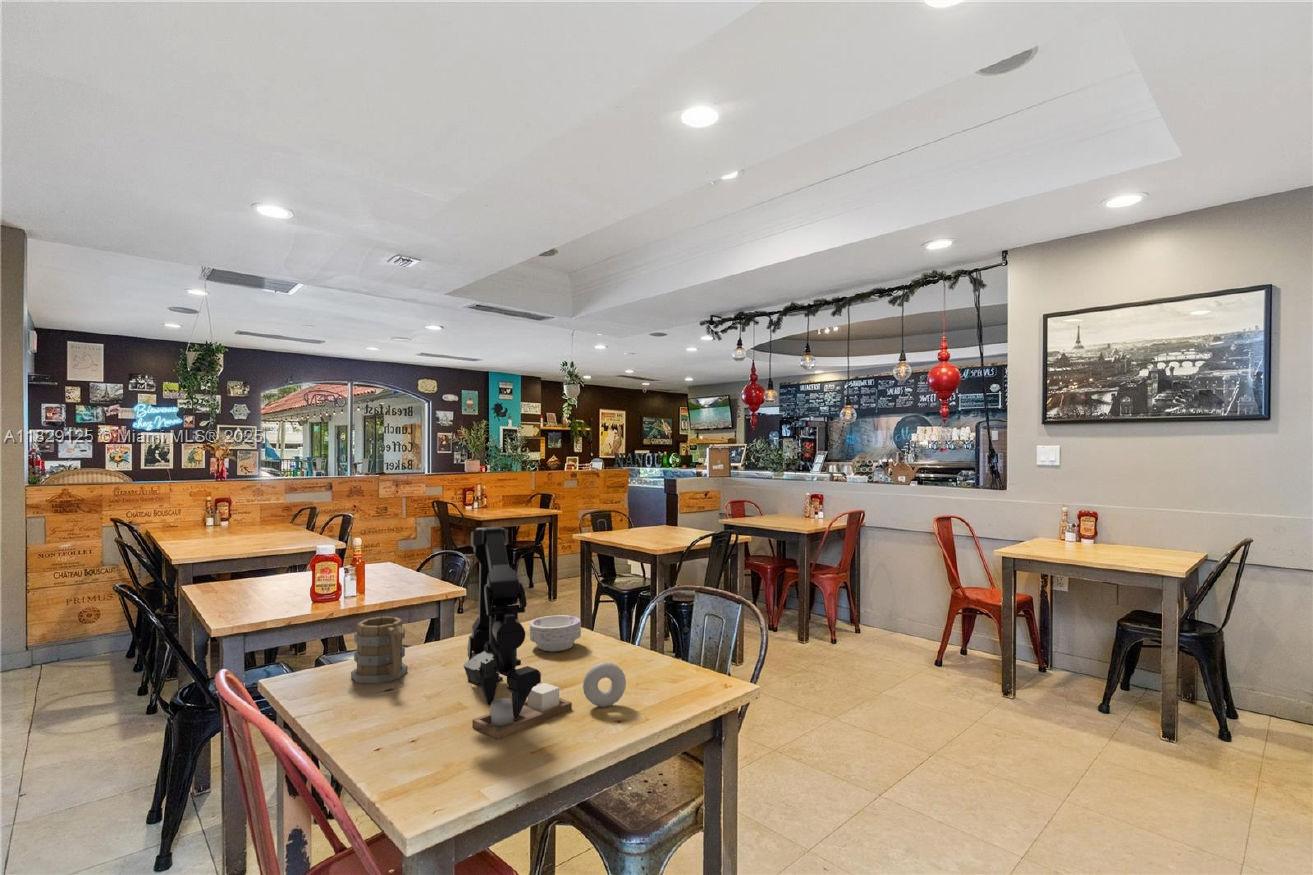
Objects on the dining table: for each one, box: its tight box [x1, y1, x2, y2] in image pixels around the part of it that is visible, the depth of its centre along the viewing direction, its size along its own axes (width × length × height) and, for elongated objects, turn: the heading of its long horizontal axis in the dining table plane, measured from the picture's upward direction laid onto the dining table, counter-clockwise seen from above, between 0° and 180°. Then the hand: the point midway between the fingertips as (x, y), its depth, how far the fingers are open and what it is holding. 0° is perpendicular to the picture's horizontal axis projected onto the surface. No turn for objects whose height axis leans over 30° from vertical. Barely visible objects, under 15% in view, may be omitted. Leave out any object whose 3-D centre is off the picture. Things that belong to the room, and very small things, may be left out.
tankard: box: [350, 616, 409, 685], centre depth 167 cm, size 20×13×15 cm, turn 42°
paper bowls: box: [528, 614, 582, 652], centre depth 193 cm, size 15×15×8 cm
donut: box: [582, 662, 627, 708], centre depth 149 cm, size 10×4×10 cm, turn 105°
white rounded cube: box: [527, 682, 560, 712], centre depth 146 cm, size 5×5×5 cm
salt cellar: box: [490, 697, 515, 728], centre depth 138 cm, size 5×5×5 cm
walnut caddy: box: [472, 697, 573, 740], centre depth 142 cm, size 9×20×2 cm, turn 139°
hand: (502, 710), depth 138 cm, fingers open, 9 cm apart
